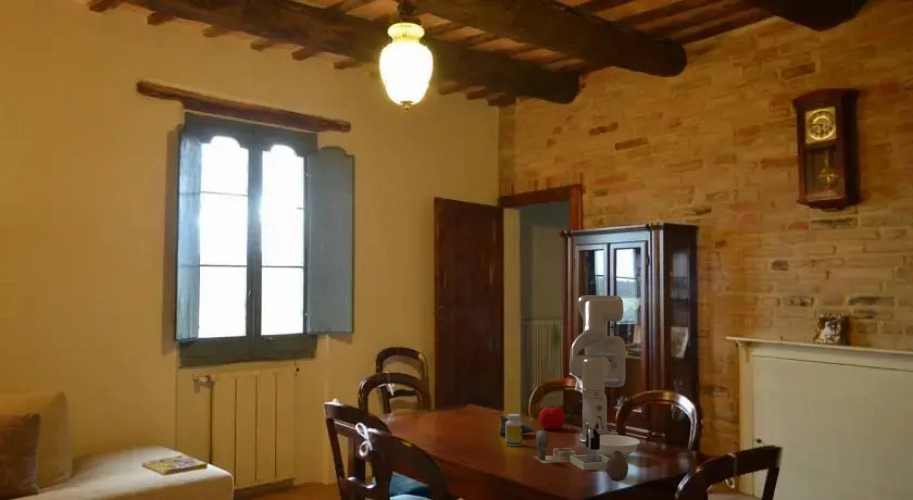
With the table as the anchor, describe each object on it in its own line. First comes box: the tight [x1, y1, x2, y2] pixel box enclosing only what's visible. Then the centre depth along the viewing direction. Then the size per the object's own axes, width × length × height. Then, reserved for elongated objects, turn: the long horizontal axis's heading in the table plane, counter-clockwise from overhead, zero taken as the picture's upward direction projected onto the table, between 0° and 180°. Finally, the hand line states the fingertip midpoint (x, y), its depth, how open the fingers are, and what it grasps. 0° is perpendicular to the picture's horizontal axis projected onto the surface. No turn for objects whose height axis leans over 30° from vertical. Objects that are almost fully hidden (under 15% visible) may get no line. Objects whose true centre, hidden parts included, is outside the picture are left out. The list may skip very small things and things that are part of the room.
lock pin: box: [586, 423, 598, 463], centre depth 268 cm, size 5×5×13 cm
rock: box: [499, 414, 535, 437], centre depth 322 cm, size 16×8×10 cm
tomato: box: [538, 404, 566, 430], centre depth 339 cm, size 11×13×10 cm
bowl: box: [585, 434, 641, 458], centre depth 285 cm, size 20×20×6 cm
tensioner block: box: [532, 430, 577, 464], centre depth 276 cm, size 14×10×11 cm
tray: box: [569, 454, 610, 474], centre depth 268 cm, size 12×12×3 cm
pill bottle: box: [504, 413, 523, 447], centre depth 304 cm, size 6×6×12 cm
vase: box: [606, 451, 629, 481], centre depth 254 cm, size 7×7×9 cm
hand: (592, 447), depth 268 cm, fingers closed on lock pin, 3 cm apart
